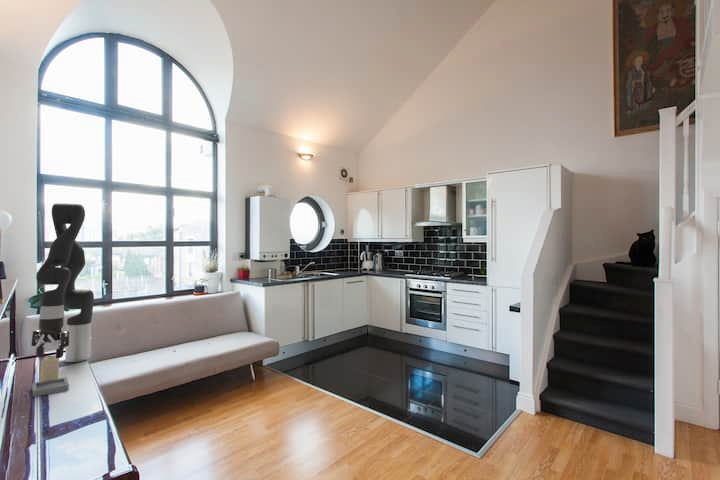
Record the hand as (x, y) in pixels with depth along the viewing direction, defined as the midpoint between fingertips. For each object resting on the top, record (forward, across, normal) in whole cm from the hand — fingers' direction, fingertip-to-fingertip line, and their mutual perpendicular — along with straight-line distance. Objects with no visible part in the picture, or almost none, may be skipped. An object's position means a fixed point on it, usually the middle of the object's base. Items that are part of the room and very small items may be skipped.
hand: (49, 357), depth 143 cm
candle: (+10, 0, 0) cm, 10 cm away
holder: (+10, -8, +6) cm, 14 cm away
